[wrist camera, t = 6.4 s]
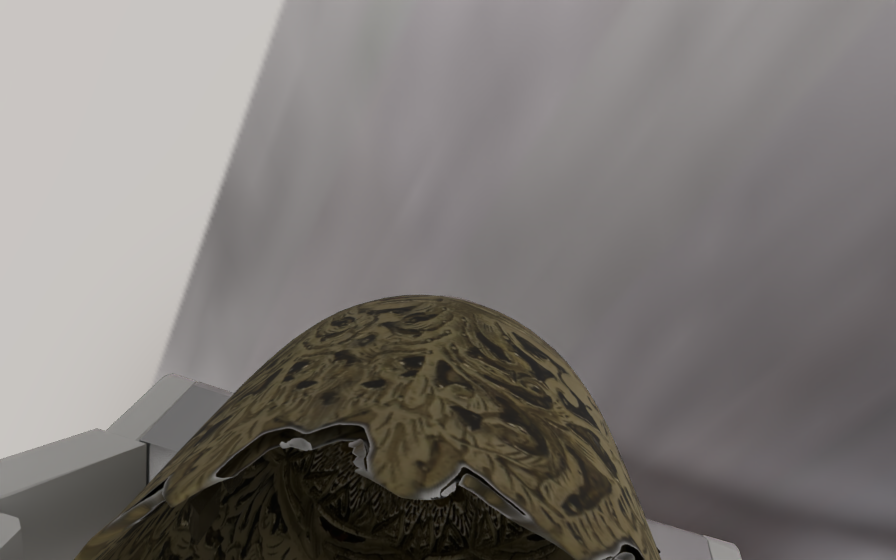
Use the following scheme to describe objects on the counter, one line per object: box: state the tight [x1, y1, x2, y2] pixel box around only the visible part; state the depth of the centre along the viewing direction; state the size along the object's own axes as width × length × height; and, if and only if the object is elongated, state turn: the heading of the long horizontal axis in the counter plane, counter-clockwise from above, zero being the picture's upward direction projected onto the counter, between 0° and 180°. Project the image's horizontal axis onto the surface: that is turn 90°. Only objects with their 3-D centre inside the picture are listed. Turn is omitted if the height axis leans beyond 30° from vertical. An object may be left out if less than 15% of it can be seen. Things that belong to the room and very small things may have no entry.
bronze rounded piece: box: [74, 295, 661, 560], centre depth 11 cm, size 8×7×8 cm
